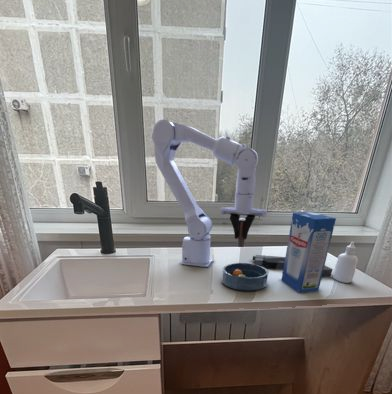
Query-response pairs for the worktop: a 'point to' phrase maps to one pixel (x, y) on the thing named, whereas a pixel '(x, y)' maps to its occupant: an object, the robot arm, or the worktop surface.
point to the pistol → (280, 263)
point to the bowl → (251, 282)
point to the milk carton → (307, 250)
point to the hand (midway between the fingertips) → (240, 238)
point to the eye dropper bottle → (346, 265)
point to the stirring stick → (241, 232)
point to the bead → (237, 272)
